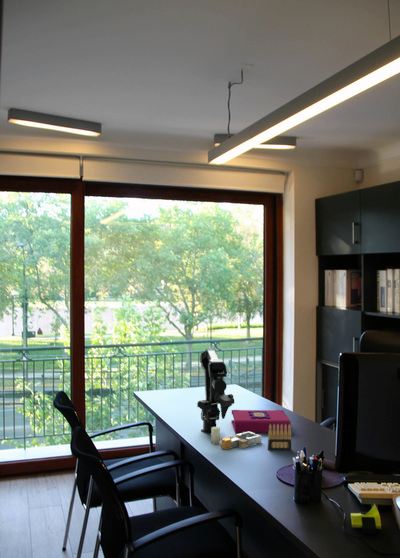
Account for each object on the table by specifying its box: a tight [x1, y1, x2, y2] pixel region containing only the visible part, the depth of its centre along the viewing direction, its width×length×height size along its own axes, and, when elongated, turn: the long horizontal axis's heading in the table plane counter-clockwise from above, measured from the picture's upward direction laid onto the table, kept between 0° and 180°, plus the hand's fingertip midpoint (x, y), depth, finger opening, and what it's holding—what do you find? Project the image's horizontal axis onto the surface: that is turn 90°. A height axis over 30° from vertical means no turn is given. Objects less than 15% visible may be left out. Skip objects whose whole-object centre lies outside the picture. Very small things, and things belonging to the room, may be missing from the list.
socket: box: [235, 431, 262, 447], centre depth 254 cm, size 9×9×4 cm
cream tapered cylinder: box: [210, 426, 221, 445], centre depth 253 cm, size 4×4×7 cm
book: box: [230, 409, 292, 435], centre depth 278 cm, size 21×28×8 cm
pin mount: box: [229, 435, 248, 449], centre depth 250 cm, size 9×3×3 cm, turn 39°
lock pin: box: [220, 437, 241, 450], centre depth 247 cm, size 3×10×4 cm, turn 129°
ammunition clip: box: [267, 424, 292, 452], centre depth 244 cm, size 11×2×12 cm, turn 93°
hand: (215, 420), depth 253 cm, fingers open, 9 cm apart
